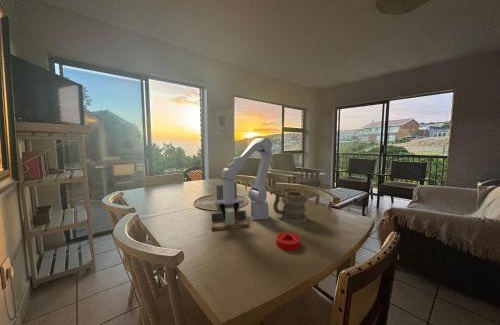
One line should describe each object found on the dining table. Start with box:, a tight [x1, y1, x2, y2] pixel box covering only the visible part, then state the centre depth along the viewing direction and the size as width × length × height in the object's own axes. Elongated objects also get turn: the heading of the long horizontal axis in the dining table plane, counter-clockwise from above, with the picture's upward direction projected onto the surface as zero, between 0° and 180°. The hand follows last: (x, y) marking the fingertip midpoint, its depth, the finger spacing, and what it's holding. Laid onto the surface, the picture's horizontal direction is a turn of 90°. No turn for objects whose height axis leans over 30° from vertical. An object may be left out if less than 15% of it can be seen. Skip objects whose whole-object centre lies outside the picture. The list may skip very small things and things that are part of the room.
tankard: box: [269, 189, 308, 225], centre depth 111 cm, size 20×13×15 cm, turn 65°
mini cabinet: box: [225, 208, 235, 225], centre depth 102 cm, size 4×8×6 cm, turn 11°
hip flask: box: [215, 180, 238, 213], centre depth 121 cm, size 16×4×20 cm, turn 143°
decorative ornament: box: [275, 231, 301, 251], centre depth 83 cm, size 10×10×3 cm
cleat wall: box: [211, 210, 250, 231], centre depth 103 cm, size 18×10×5 cm, turn 100°
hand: (229, 218), depth 103 cm, fingers closed on mini cabinet, 4 cm apart
